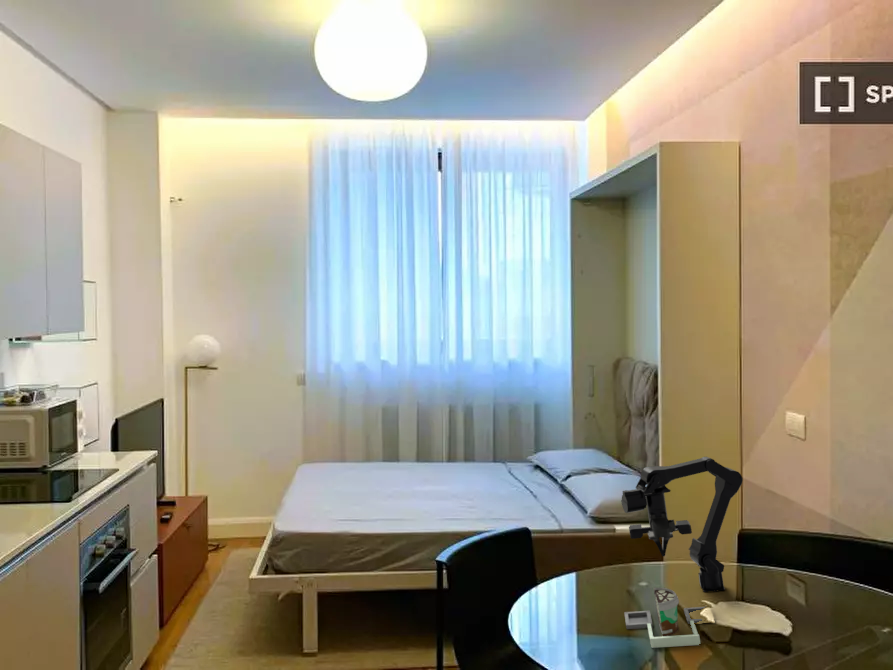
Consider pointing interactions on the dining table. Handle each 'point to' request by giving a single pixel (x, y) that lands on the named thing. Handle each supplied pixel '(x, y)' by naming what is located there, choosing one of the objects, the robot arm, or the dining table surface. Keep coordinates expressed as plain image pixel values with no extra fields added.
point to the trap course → (644, 621)
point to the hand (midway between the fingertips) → (663, 556)
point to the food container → (667, 610)
